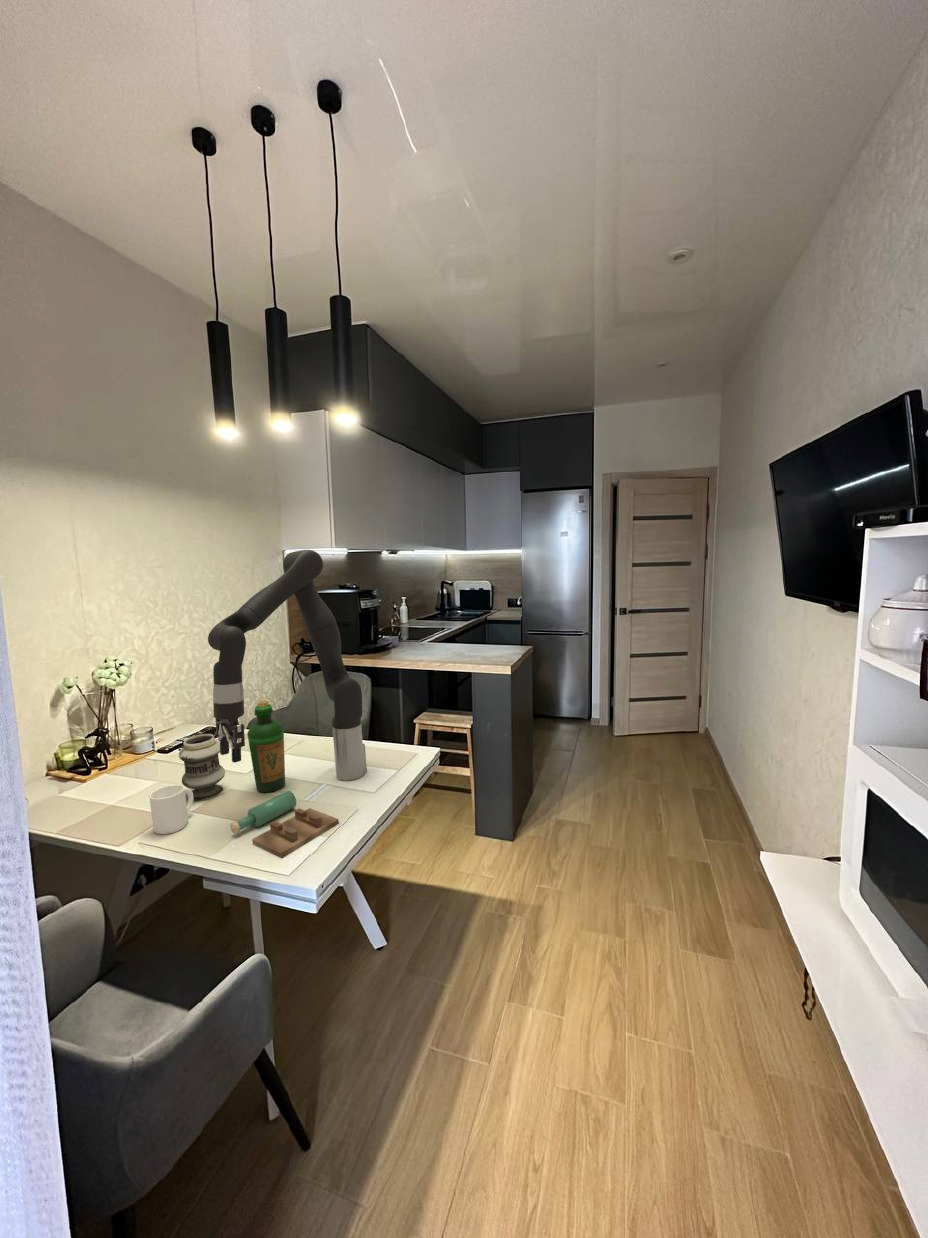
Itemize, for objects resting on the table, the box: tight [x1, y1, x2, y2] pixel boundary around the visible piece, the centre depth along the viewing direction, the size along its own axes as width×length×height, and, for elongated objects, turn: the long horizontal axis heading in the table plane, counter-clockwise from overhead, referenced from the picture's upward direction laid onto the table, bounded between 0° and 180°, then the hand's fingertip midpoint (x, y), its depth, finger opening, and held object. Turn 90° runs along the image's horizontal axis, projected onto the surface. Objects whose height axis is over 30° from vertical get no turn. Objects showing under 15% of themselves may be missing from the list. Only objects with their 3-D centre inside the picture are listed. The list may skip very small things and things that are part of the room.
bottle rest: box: [251, 807, 340, 859], centre depth 131 cm, size 18×12×4 cm, turn 146°
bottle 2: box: [229, 790, 297, 834], centre depth 137 cm, size 18×5×5 cm, turn 146°
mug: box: [148, 784, 194, 835], centre depth 138 cm, size 12×8×10 cm
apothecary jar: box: [178, 733, 226, 802], centre depth 155 cm, size 12×12×18 cm
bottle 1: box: [246, 700, 286, 793], centre depth 157 cm, size 11×11×28 cm
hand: (230, 757), depth 135 cm, fingers open, 8 cm apart
